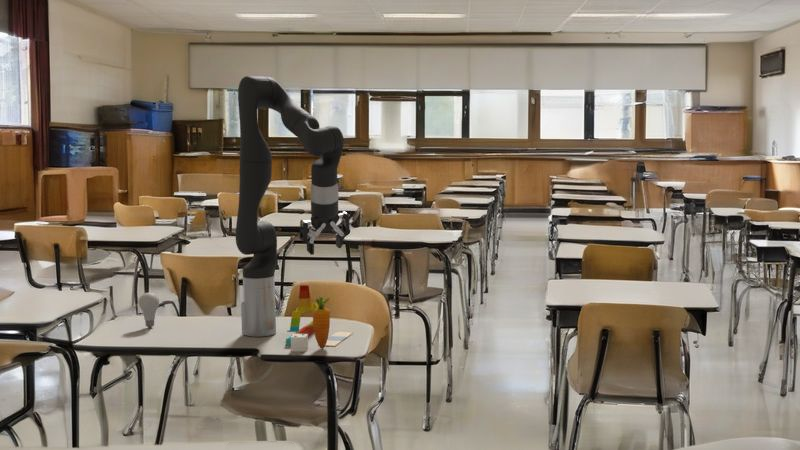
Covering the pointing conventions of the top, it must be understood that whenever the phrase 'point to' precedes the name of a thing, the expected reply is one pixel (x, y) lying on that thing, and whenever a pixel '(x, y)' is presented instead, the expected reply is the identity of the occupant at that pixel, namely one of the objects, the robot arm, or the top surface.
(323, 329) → the carrot
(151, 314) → the lightbulb
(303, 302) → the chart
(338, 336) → the flat strip
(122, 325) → the top surface
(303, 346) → the die
